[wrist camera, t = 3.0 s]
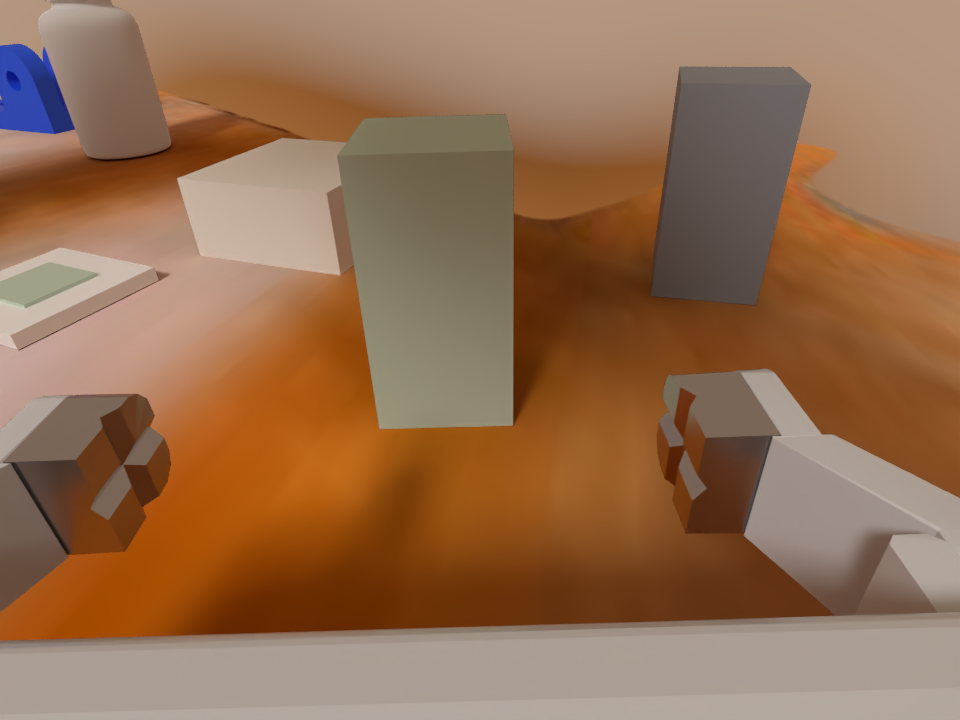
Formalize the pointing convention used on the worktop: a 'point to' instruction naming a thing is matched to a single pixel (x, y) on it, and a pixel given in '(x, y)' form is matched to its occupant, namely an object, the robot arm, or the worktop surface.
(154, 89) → the pill bottle
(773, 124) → the charcoal block
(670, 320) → the worktop surface
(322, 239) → the cream base block
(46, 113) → the bracket
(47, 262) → the tile
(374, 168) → the sage block
